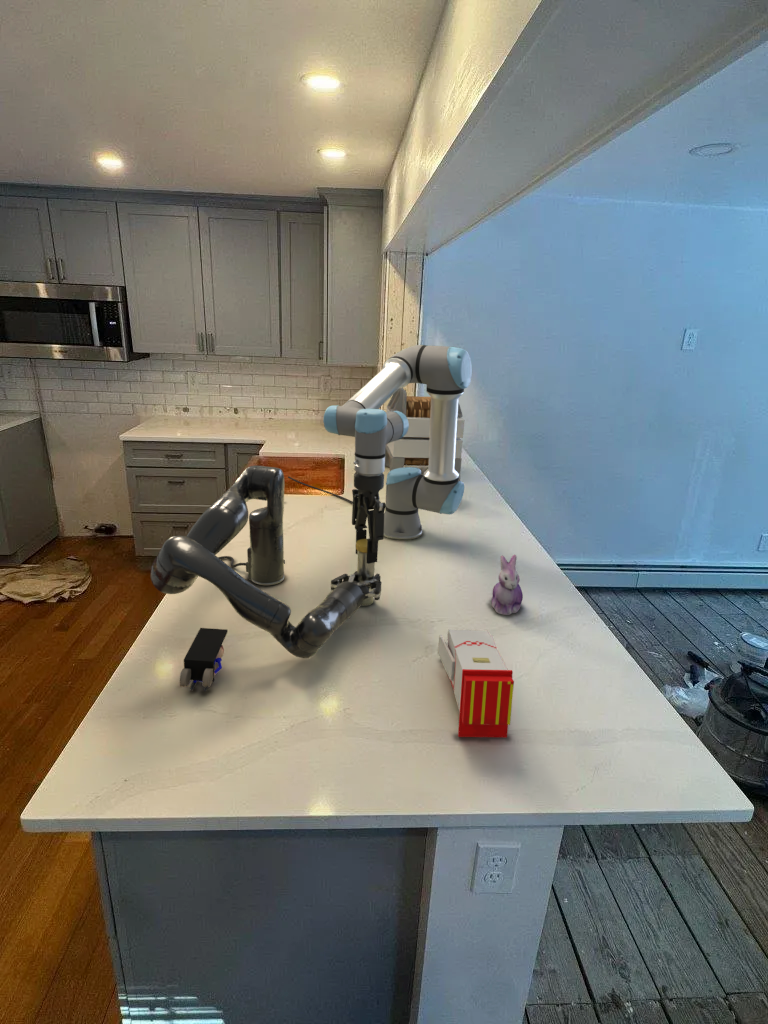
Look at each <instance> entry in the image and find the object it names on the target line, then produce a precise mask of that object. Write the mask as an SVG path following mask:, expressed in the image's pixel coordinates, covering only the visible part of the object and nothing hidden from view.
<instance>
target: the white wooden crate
mask: <svg viewBox="0 0 768 1024" xmlns="http://www.w3.org/2000/svg"><path fill="white" fill-rule="evenodd" d="M407 394H408V393H407V390H406V389H404V387H403V388H399V389H398V390H397V391H396V392H395V393H394V394H393V395H392V396H391V397H390V400H389V402H388V404H387V405H386V412H389V411H399V412H402V413H403V414H404V415H405V416H406V417H407V419H408V423H409V428H408V431H407V433H406V435H405V436H403V437H402V438H400V439H399V440H396V441H393V442H391V443H388V444H386V447H385V467H388V468H389V472H390V471H391V470H393V469H397V468H404V467H405V466H406V467H410V466H411V467H417V466H418V467H428V465H429V439H430V412H431V396H415V395H414V396H413V395H412V396H411V395H407ZM464 429H465V419H464V418H463V411H462V408H461V405H460V401H458V417H457V434H456V452H455V470H456V471H457V472H458V474H459V479H460V480H461V472H462V461H463V460H462V453H463V442H464V441H463V440H462V439H463V438H464V431H465V430H464Z"/></svg>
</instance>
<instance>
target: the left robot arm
mask: <svg viewBox="0 0 768 1024" xmlns="http://www.w3.org/2000/svg"><path fill="white" fill-rule="evenodd" d="M285 480H286V479H285V474H284V471H283V470H282V469H281V468H279V467H275V466H264V465H250V466H248V467H246V468H245V469H244V470H243V471H242V473H241V474H240V475H239V476H238V478H237V479H236V480H235V481H234V482H233V483H232V485H231V486H230V487H229V488H228V489H227V490H226V491H225V492H224V493H223V494H222V495H221V496H220V497H219V498H218V499H217V500H215V501H214V502H213V503H212V504H210V506H209V507H207V508H206V509H205V510H204V511H203V513H202V514H201V515H200V516H199V518H198V519H197V521H196V522H194V524H193V525H192V527H191V529H190V530H189V532H188V533H187V535H173V536H170V537H169V538H168V539H167V538H166V540H165V541H164V543H163V544H162V546H161V547H160V549H159V550H158V553H157V555H156V556H155V558H154V560H153V562H152V564H151V567H150V573H149V575H150V581H151V583H152V585H153V587H154V588H155V589H156V590H157V591H159V592H160V593H161V594H165V595H178V594H181V593H184V592H185V591H187V590H189V589H190V588H191V587H192V586H193V585H194V584H195V582H196V580H198V577H200V578H201V579H203V580H206V581H207V582H209V583H211V584H212V585H213V586H214V587H215V588H217V589H218V591H219V592H221V594H222V595H223V596H224V598H226V600H227V601H228V603H229V604H230V605H231V607H232V608H233V609H234V611H235V612H236V613H237V614H238V615H239V616H240V617H241V618H242V619H244V620H245V621H246V622H249V623H251V624H252V625H254V626H256V627H258V628H259V629H261V630H263V631H265V632H267V633H268V634H270V635H271V636H272V637H273V638H274V639H275V640H276V642H278V643H279V644H280V646H282V647H283V648H284V649H285V650H286V652H288V653H290V654H291V655H292V656H294V657H296V658H299V659H310V658H312V657H313V656H314V655H316V654H317V652H318V651H319V650H320V649H321V648H322V646H323V645H324V644H325V643H326V642H327V641H328V640H329V639H330V637H331V636H332V635H333V634H334V632H335V631H337V630H338V629H339V628H340V627H341V626H342V625H343V624H344V623H345V622H346V621H348V620H349V619H350V617H352V615H353V614H355V612H357V610H358V609H359V608H360V607H361V606H362V605H361V604H362V602H363V601H364V600H365V599H367V598H368V597H373V600H374V601H380V598H381V594H382V583H383V582H382V581H381V578H382V577H381V574H380V573H376V574H374V577H373V578H372V579H371V580H369V581H368V580H366V581H364V582H362V583H360V582H357V570H355V571H354V572H353V573H351V574H350V575H349V574H348V573H343V574H341V575H339V576H337V577H334V578H333V579H331V580H330V590H331V592H329V593H328V594H327V595H326V596H325V598H324V599H323V600H322V601H321V602H320V603H319V604H318V605H317V606H316V607H315V608H313V609H311V610H310V611H309V612H308V613H306V615H304V617H302V619H301V620H300V621H299V622H298V624H297V625H296V626H295V625H293V624H292V623H291V621H290V617H291V616H292V608H291V607H290V605H288V604H287V603H286V602H284V601H281V600H280V599H278V598H277V597H275V596H273V595H271V594H270V593H268V592H265V591H264V590H262V589H261V588H259V587H258V586H274V585H278V584H280V583H281V582H283V581H284V580H285V564H286V560H285V556H284V555H285V551H284V549H285V548H284V514H285V513H284V512H285V489H286V488H285V485H286V484H285V483H286V482H285ZM250 500H257V501H265V502H266V506H264V507H259V508H257V509H254V510H252V511H251V512H250V513H249V509H248V505H247V502H249V501H250ZM247 523H248V524H249V525H248V526H249V528H248V529H249V547H248V548H247V550H246V556H247V561H246V562H238V563H235V564H234V562H235V560H234V557H232V556H229V555H224V556H217V554H218V553H220V552H221V551H222V550H223V549H224V548H225V547H226V546H227V545H228V544H229V543H230V542H231V541H232V540H234V539H235V537H237V535H239V533H241V531H242V530H243V529H244V527H245V526H247ZM223 559H224V560H225V559H227V560H230V565H228V564H227V563H226V562H225V561H223ZM240 566H245V572H246V573H247V577H248V578H247V579H248V580H247V579H246V578H244V577H243V576H242V575H241V574H240V573H238V572H237V571H236V570H234V569H233V568H237V567H240ZM232 567H233V568H232ZM249 580H250V581H251V582H252V583H251V582H250V581H249ZM254 584H256V585H258V586H256V585H254ZM372 590H373V591H372Z"/></svg>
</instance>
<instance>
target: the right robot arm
mask: <svg viewBox="0 0 768 1024" xmlns="http://www.w3.org/2000/svg"><path fill="white" fill-rule="evenodd" d="M472 375H473V366H472V359H471V356H470V355H469V352H468V351H467V350H466V349H465V348H461V347H455V346H448V345H447V346H445V345H427V344H416V345H411V346H408V347H405V348H403V349H401V350H400V351H398V352H396V353H395V354H393V355H392V356H390V357H389V358H388V359H386V361H385V362H384V363H383V365H382V369H381V370H380V371H378V373H376V374H375V375H374V376H373V377H372V378H371V379H370V380H369V381H368V382H366V384H364V385H363V386H362V387H361V388H360V389H359V390H358V391H357V392H356V393H355V394H353V395H352V396H351V397H350V398H349V399H348V400H347V401H346V402H345V403H344V404H343V405H339V404H335V405H330V406H327V408H326V409H325V411H324V413H323V418H322V419H323V427H324V429H325V430H326V432H327V433H330V434H334V435H337V436H345V437H353V438H354V460H353V465H354V468H353V469H354V473H353V487H354V489H352V491H351V493H352V500H351V499H348V498H346V497H343V496H341V495H339V494H335V493H334V492H331V491H328V490H325V489H322V488H318V487H315V486H313V485H310V484H307V483H304V482H302V481H299V480H297V479H295V478H293V477H291V476H287V478H288V479H289V480H291V481H293V482H296V483H298V484H300V485H302V486H306V487H308V488H311V489H313V490H317V491H319V492H323V493H326V494H329V495H332V496H334V497H337V498H339V499H341V500H344V501H347V502H348V503H350V504H352V509H351V525H352V526H354V529H355V543H356V542H357V541H358V540H360V539H367V563H368V564H370V563H375V564H376V563H378V554H379V552H378V551H379V542H380V541H383V540H384V539H385V538H387V539H389V540H395V541H410V540H415V539H418V538H420V537H421V536H422V535H423V525H422V524H421V518H420V515H419V510H423V511H427V512H432V513H437V514H440V515H442V514H444V515H453V514H454V513H456V512H457V510H458V509H459V507H460V505H461V502H462V500H463V496H464V493H465V483H464V481H462V480H460V481H459V474H458V472H457V471H456V470H455V452H456V434H457V417H458V402H459V398H460V397H461V396H462V395H463V394H464V393H465V389H467V388H469V386H470V384H471V381H472ZM409 384H420V385H426V389H425V390H426V391H425V392H426V393H427V394H428V395H429V397H431V412H430V439H429V465H428V466H427V469H426V470H424V472H423V474H422V470H421V468H419V467H415V466H411V467H410V466H406V467H405V466H404V468H397V469H393V470H391V471H390V470H389V471H388V473H387V475H386V480H385V473H384V472H385V470H386V466H385V447H386V444H388V443H391V442H393V441H396V440H399V439H400V438H402V437H403V436H405V435H406V433H407V431H408V428H409V423H408V419H407V417H406V416H405V415H404V414H403V413H402V412H399V411H389V412H387V411H385V410H384V409H381V408H382V406H383V405H384V404H385V403H386V402H387V401H388V400H389V399H391V398H392V396H393V394H394V393H395V392H396V391H397V390H398V389H399V388H403V389H404V388H405V387H406V386H408V385H409ZM385 481H386V482H385ZM384 487H385V502H382V501H381V500H380V491H381V490H383V489H384ZM367 529H368V531H367ZM367 533H368V538H367ZM355 554H356V555H358V550H357V549H356V548H355Z"/></svg>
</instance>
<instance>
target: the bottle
mask: <svg viewBox="0 0 768 1024" xmlns="http://www.w3.org/2000/svg"><path fill="white" fill-rule="evenodd" d="M356 563H357V565H356V566H357V567H356V571H357V582H360V583H362V582H364V581H366V580H368V581H369V580H371V579H372V578H373V577H374V576H375V568H376V567H375V564H376V562H375V563H370V564H368V563H367V553H363V552H360V551H358V554H357V562H356ZM372 591H373V590H372ZM373 603H374V597H368V598H367V599H365V600H364V601H363V602H362V604H361V605H360V606H363V607H367V606H370V605H373Z"/></svg>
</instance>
